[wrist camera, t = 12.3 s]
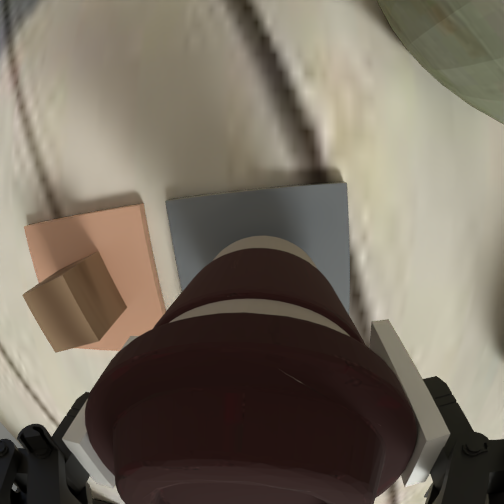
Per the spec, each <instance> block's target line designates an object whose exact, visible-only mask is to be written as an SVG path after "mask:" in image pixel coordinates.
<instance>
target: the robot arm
mask: <svg viewBox="0 0 504 504" xmlns="http://www.w3.org/2000/svg"><path fill="white" fill-rule="evenodd" d="M137 337H138V336H130V337H129V339H128V340H127V342H126V343H125V344H124V346H123V347H122V349H123V348H124V347H125V346H126V345H128V344H129V343H130V342H131V341H133V340H134V339H135V338H137ZM122 349H121V350H122ZM370 349H371V350H372V351H373V352H375V353H376V354H377V355H378V356H379V357H381V358H382V359H383V360H384V361H385V362H386V363H387V365H388V366H389V367H390V368H391V369H392V371H393V372H394V373H395V374H396V376H397V378H398V380H399V382H400V384H401V386H402V388H403V390H404V392H405V395H406V397H407V399H408V401H409V404H410V406H411V408H412V411H413V413H414V416H415V420H416V427H417V442H416V446H415V449H414V453H413V455H412V457H411V459H410V461H409V463H408V465H407V467H406V469H405V470H404V472H403V473H402V474H401V476H402V480H403V483H404V487H407V486H411V485H414V484H418V483H421V482H425V481H426V479H427V478H428V476H429V474H431V477H432V480H433V483H432V484H431V486H430V487H429V489H428V491H427V492H426V494H425V496H424V497H426V498H427V499H426V503H425V504H504V439H501V440H489V439H488V438H487V437H486V436H484V435H483V434H481V433H477V432H474V431H473V429H472V427H471V426H470V424H469V422H468V420H467V418H466V417H465V415H464V413H463V411H462V410H461V408H460V406H459V404H458V403H456V399H455V397H454V396H453V395H452V392H451V391H450V389H449V387H448V386H447V384H446V383H445V382H444V381H442V380H441V379H440V378H438V377H437V376H435V377H431V378H426V379H422V377H421V375H420V374H419V372H418V370H417V368H416V366H415V365H414V363H413V361H412V359H411V357H410V356H409V354H408V352H407V350H406V349H405V347H404V345H403V343H402V342H401V340H400V338H399V337H398V335H397V333H396V332H395V330H394V328H393V326H392V325H391V323H390V321H389V320H388V319H387V320H380V321H372V325H371V337H370ZM89 394H90V393H89V392H85V393H84V394H83V395H82V396H80V397H79V398H78V399H77V400H76V401H75V403H74V404H73V406H72V407H71V409H70V410H69V412H68V413H67V416H65V418H64V419H63V421H62V422H61V424H60V425H59V427H58V428H57V430H56V431H55V433H54V434H53V436H52V437H51V436H50V434H49V433H48V431H47V430H46V429H45V427H44V426H42V425H40V424H31V425H28V426H26V427H25V428H23V429H22V430H21V431H20V433H19V434H18V437H17V439H18V440H19V442H20V443H21V444H22V446H23V447H24V448H25V449H23V448H17V447H16V446H15V445H14V443H13V442H12V441H11V440H8V439H1V440H0V504H109V503H106V502H102V501H98V500H92V494H91V488H90V486H89V484H88V483H87V480H88V478H89V476H90V477H91V478H92V479H93V480H94V481H95V482H96V484H99V485H103V486H107V487H111V488H114V486H115V476H114V475H113V474H112V473H111V472H110V471H109V470H108V469H107V467H106V466H105V465H104V464H103V463H102V461H101V460H100V458H99V457H98V455H97V454H96V452H95V451H94V449H93V447H92V445H91V443H90V441H89V437H88V433H87V430H86V426H85V407H86V402H87V400H88V397H89ZM13 483H14V484H15V485H16V486H17V490H16V491H13V490H12V485H13Z"/></svg>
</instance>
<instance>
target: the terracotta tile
mask: <svg viewBox="0 0 504 504" xmlns="http://www.w3.org/2000/svg"><path fill="white" fill-rule="evenodd" d="M24 229H25V233H26V238H27V242H28V246H29V250H30V254H31V257H32V261H33V265H34V268H35V272H36V275H37V278H38V281H39V283H40V282H42V281H43V280H45V279H46V278H48V277H49V276H51V275H52V274H54V273H55V272H57V271H58V270H60V269H62V268H64V267H66V266H68V265H70V264H72V263H74V262H77V261H79V260H81V259H83V258H85V257H87V256H89V255H91V254H93V253H95V252H97V251H99V253H100V255H101V257H102V259H103V261H104V264H105V266H106V268H107V270H108V272H109V274H110V276H111V278H112V280H113V282H114V283H115V285H116V287H117V289H118V291H119V293H120V295H121V297H122V299H123V301H124V302H125V304H126V306H127V308H126V310H125V311H124V312H123V313H122V314H121V316H120V317H119V318H118V319H117V320H116V322H115V323H114V324H113V325H112V326H111V328H110V329H109V330H108V331H107V332H106V334H105V335H104V336H103V337H102V338H101V340H100V341H98V342H94V343H91V344H87V345H83V346H79V347H75V348H82V349H97V350H116V351H120V350H121V349H122V347H123V346H124V344H125V343H126V342H127V340H128V339H129V337H130V336H140V335H142V334H144V333H145V332H147V331H149V330H152V329H153V328H154V326H155V325H156V323H157V322H158V321H159V320H160V318H161V317H162V316H163V315H164V314H165V312H166V309H165V305H164V301H163V297H162V292H161V288H160V284H159V279H158V275H157V270H156V266H155V261H154V256H153V252H152V247H151V242H150V236H149V231H148V226H147V220H146V215H145V209H144V203H142V204H136V205H129V206H123V207H117V208H111V209H106V210H100V211H94V212H89V213H84V214H78V215H73V216H68V217H63V218H58V219H53V220H48V221H43V222H39V223H34V224H29V225H27V226H25V227H24Z"/></svg>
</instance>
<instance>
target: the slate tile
mask: <svg viewBox="0 0 504 504" xmlns="http://www.w3.org/2000/svg"><path fill="white" fill-rule="evenodd" d="M166 208H167V214H168V220H169V226H170V231H171V237H172V242H173V248H174V253H175V258H176V264H177V269H178V274H179V279H180V283H181V288H182V292H183V290H184V289H185V288H186V287H187V285H188V284H189V283H190V282H191V281H192V279H193V278H194V277H195V276H196V275H197V274H198V273H199V272H200V271H201V270H202V269H203V268H204V267H205V266H206V265H208V264H209V263H210V262H212V261H213V260H214V258H215V257H216V256H217V255H218V254H219V253H220V252H221V251H222V250H223V249H224V248H226V247H227V246H229V245H230V244H232V243H234V242H236V241H238V240H241V239H244V238H248V237H252V236H272V237H277V238H281V239H284V240H287V241H289V242H291V243H293V244H295V245H296V246H298V247H299V248H301V249H302V250H303V251H304V252H305V253H306V254H307V255H308V256H309V257H310V258H311V259H312V261H313V262H314V264H315V265H316V267H317V269H318V270H319V271H320V272H321V273H322V274H323V275H324V276H325V277H326V279H327V280H328V281H329V283H330V284H331V285H332V287H333V289H334V291H335V292H336V294H337V296H338V297H339V299H340V301H341V303H342V304H343V306H344V308H345V309H346V311H347V313H348V315H349V296H350V254H349V218H348V197H347V183H346V182H331V183H317V184H304V185H292V186H280V187H270V188H259V189H250V190H240V191H231V192H223V193H214V194H206V195H198V196H191V197H183V198H176V199H169V200H167V201H166Z"/></svg>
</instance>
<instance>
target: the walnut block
mask: <svg viewBox="0 0 504 504" xmlns="http://www.w3.org/2000/svg"><path fill="white" fill-rule="evenodd" d="M23 297H24V299H25V301H26V303H27V305H28V307H29V308H30V310H31V312H32V314H33V316H34V317H35V319H36V321H37V323H38V324H39V326H40V328H41V330H42V331H43V333H44V335H45V336H46V338H47V340H48V341H49V343H50V344H51V346H52V348H53V349H54V351H55V352H60V351H64V350H68V349H71V348H75V347H79V346H83V345H87V344H91V343H94V342H98V341H100V340H101V338H102V337H103V336H104V335H105V334H106V332H107V331H108V330H109V329H110V328H111V326H112V325H113V324H114V323H115V322H116V320H117V319H118V318H119V317H120V316H121V314H122V313H123V312H124V311H125V310H126V308H127V306H126V304H125V302H124V301H123V299H122V297H121V295H120V293H119V291H118V289H117V287H116V285H115V283H114V282H113V280H112V278H111V276H110V274H109V272H108V270H107V268H106V266H105V264H104V261H103V259H102V257H101V255H100V253H99V251H97V252H95V253H93V254H91V255H89V256H87V257H85V258H83V259H81V260H79V261H77V262H74V263H72V264H70V265H68V266H66V267H64V268H62V269H60V270H58V271H57V272H55V273H54V274H52V275H51V276H49V277H48V278H46V279H45V280H43V281H42V282H40V283H39V284H37V285H36V286H35V287H33V288H32V289H30V290H29V291H27V292H26V293H25V294H23Z"/></svg>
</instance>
